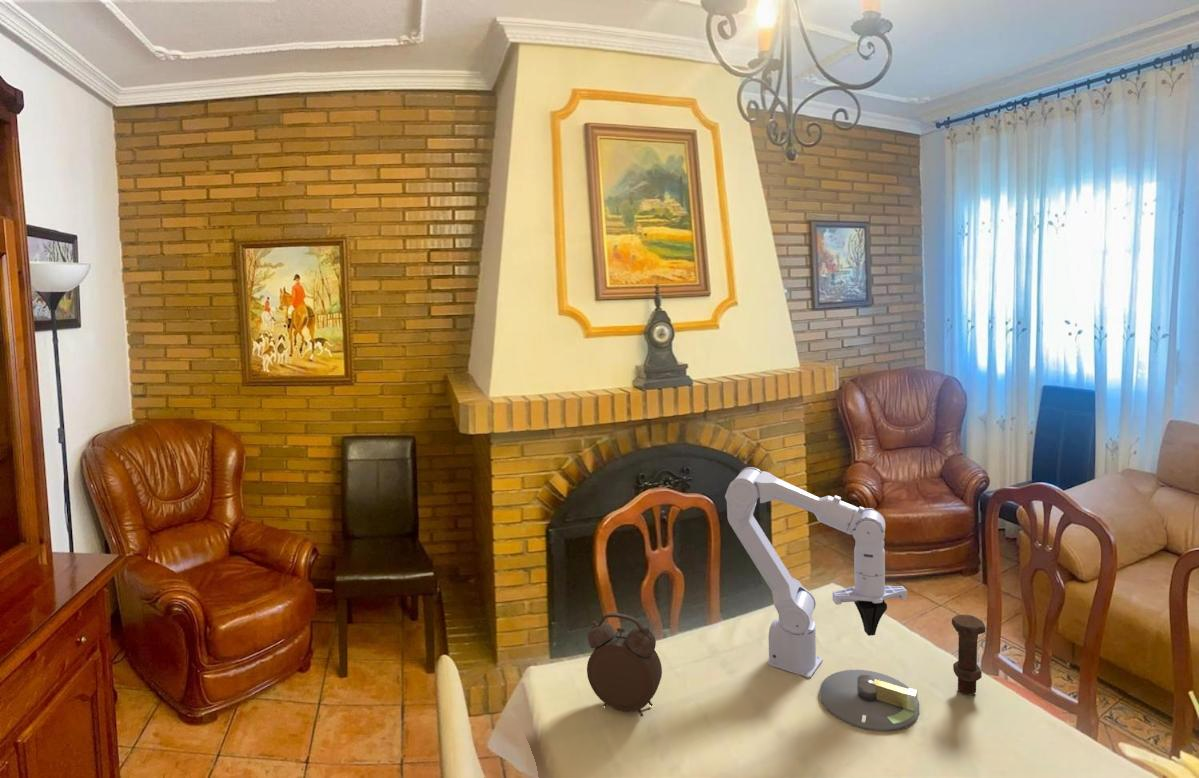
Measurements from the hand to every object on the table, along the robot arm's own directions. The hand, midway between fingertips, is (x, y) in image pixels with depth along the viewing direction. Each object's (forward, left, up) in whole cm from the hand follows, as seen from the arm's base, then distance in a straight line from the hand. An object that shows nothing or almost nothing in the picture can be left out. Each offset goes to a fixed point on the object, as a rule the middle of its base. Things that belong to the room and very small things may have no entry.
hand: (869, 633), depth 135 cm
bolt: (+17, +5, -10) cm, 20 cm away
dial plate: (+2, -8, -10) cm, 13 cm away
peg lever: (+5, -8, -9) cm, 13 cm away
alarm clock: (-37, -35, -10) cm, 52 cm away
